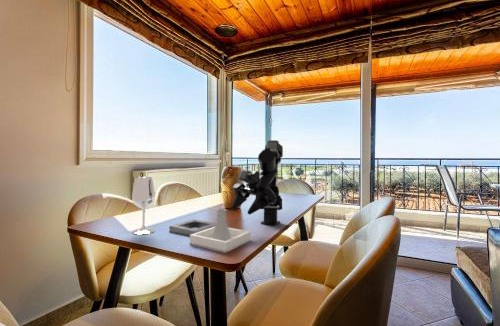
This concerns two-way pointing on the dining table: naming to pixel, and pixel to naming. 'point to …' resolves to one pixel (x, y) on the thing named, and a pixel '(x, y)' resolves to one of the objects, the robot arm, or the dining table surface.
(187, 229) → the holder
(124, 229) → the dining table surface
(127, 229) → the dining table surface
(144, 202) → the wineglass
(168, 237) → the dining table surface
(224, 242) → the tray
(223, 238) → the flask
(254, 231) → the dining table surface
